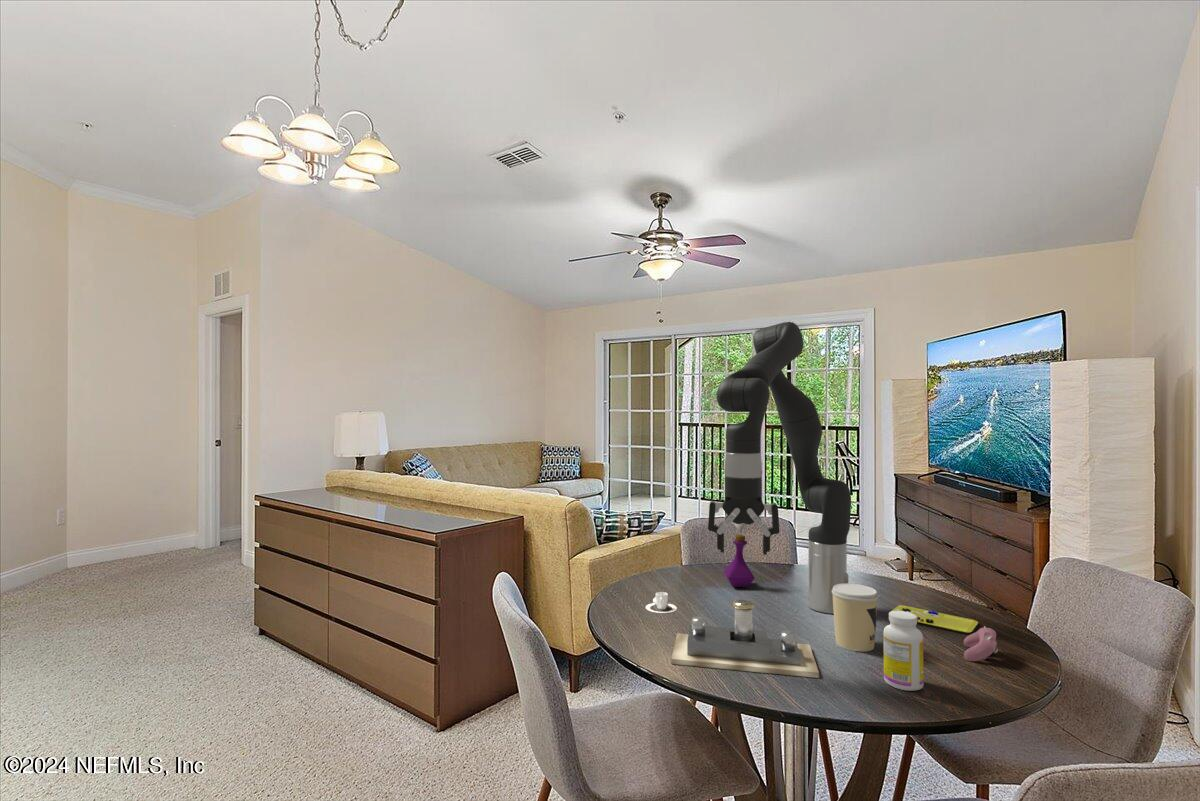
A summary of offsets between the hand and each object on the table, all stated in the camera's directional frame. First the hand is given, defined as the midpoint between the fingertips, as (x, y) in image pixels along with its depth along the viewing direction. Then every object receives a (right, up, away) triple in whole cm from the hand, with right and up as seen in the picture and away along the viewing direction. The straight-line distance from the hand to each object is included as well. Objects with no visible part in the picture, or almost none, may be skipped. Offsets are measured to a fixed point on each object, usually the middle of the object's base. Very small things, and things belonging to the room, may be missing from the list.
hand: (743, 552), depth 124 cm
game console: (+51, -23, +22) cm, 60 cm away
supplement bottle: (+27, -22, -12) cm, 37 cm away
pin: (0, -20, 0) cm, 20 cm away
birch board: (0, -21, 0) cm, 21 cm away
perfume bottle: (+11, -22, +50) cm, 55 cm away
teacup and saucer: (-11, -22, +31) cm, 40 cm away
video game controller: (+50, -22, +1) cm, 54 cm away
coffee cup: (+26, -22, +6) cm, 34 cm away
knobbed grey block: (0, -21, 0) cm, 21 cm away
